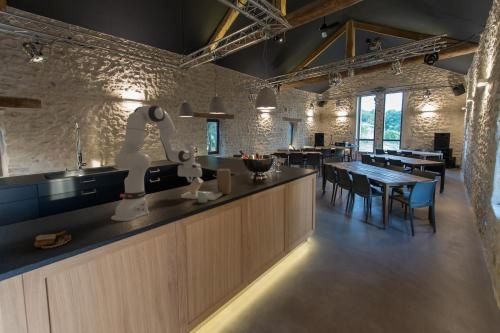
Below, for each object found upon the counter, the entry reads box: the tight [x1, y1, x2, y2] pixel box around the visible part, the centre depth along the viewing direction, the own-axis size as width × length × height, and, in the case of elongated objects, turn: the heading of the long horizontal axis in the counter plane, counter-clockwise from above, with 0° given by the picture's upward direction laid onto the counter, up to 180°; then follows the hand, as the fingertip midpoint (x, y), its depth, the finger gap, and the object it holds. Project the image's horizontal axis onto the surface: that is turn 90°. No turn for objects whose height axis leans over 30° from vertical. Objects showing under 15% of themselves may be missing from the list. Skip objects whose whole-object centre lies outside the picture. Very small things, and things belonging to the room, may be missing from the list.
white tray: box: [180, 190, 223, 201], centre depth 198 cm, size 16×28×2 cm, turn 74°
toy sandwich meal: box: [33, 230, 72, 249], centre depth 116 cm, size 12×14×5 cm
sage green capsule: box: [197, 190, 208, 204], centre depth 183 cm, size 7×7×7 cm
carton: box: [186, 177, 204, 194], centre depth 198 cm, size 6×6×12 cm
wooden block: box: [216, 168, 232, 195], centre depth 207 cm, size 10×10×20 cm
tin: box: [212, 186, 219, 194], centre depth 200 cm, size 4×4×5 cm
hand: (190, 182), depth 199 cm, fingers closed
